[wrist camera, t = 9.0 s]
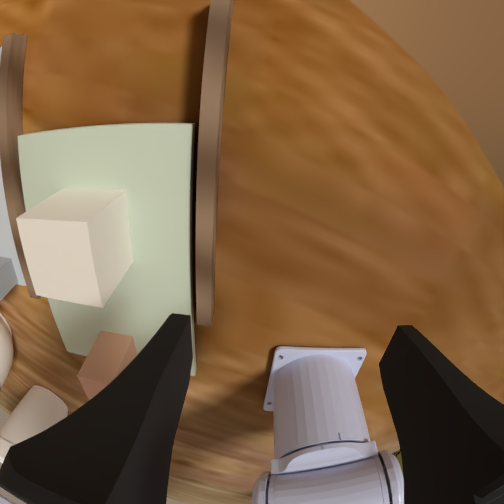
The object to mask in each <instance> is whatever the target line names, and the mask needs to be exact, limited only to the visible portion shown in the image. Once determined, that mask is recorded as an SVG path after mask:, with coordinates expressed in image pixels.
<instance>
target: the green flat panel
mask: <svg viewBox="0 0 504 504" xmlns="http://www.w3.org/2000/svg"><path fill="white" fill-rule="evenodd" d="M194 140H195V123H131V124H111V125H96V126H84V127H74V128H65V129H56V130H49V131H41V132H35V133H28V134H23V135H20V136H18V151H19V163H20V173H21V181H22V189H23V196H24V203H25V209H26V211H28V210H29V209H31V208H32V207H34V206H36V205H37V204H39V203H40V202H42V201H44V200H45V199H47V198H48V197H50V196H52V195H53V194H55V193H57V192H58V191H60V190H62V189H90V190H127V206H128V220H129V232H130V242H131V252H132V261H133V263H132V264H131V266H130V267H129V269H128V270H127V272H126V273H125V275H124V276H123V278H122V279H121V281H120V282H119V284H118V285H117V287H116V288H115V290H114V291H113V293H112V294H111V296H110V298H109V299H108V301H107V302H106V304H105V306H104V307H103V308H101V307H95V306H89V305H84V304H78V303H73V302H68V301H62V300H57V299H53V298H48V297H47V298H48V301H49V304H50V307H51V310H52V313H53V316H54V319H55V322H56V324H57V327H58V330H59V332H60V335H61V337H62V340H63V342H64V345H65V347H66V350H67V352H71V353H75V354H79V355H83V356H87V357H86V359H85V361H84V363H83V365H82V367H81V369H80V371H79V373H78V375H77V377H78V380H79V382H80V384H81V386H82V388H83V390H84V392H85V394H86V396H87V397H88V399H89V400H90V399H92V398H93V397H94V396H95V395H97V394H98V393H99V392H100V391H101V390H102V389H104V388H105V387H106V386H107V385H108V384H109V383H110V382H111V381H112V380H113V379H115V378H116V377H117V376H118V375H119V374H120V373H121V372H122V371H123V369H124V368H125V367H126V366H127V365H128V364H129V363H130V362H131V361H132V360H133V359H134V358H135V357H136V356H137V355H138V354H139V352H140V351H141V350H142V349H143V348H144V347H145V345H146V344H147V343H148V342H149V341H150V340H151V338H152V337H153V336H154V335H155V333H156V332H157V331H158V330H159V328H160V327H161V326H162V324H163V323H164V322H165V320H166V319H167V318H168V316H169V315H170V314H172V313H176V314H184V315H190V316H191V334H192V350H193V360H192V367H191V374H190V376H195V374H196V354H195V335H194V311H193V272H192V203H193V164H194Z"/></svg>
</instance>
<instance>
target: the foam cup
mask: <svg viewBox="0 0 504 504" xmlns="http://www.w3.org/2000/svg"><path fill="white" fill-rule="evenodd" d="M67 412H68V408H67V405H66V404H65V403H64V402H63V401H62V400H61V399H60V398H59V397H58V396H57V395H55V394H54V393H53V392H51V391H49V390H48V389H46V388H44V387H41V386H38V385H33V386H32V388H30V390H29V391H28V392H27V393H26V395H25V396H24V397H23V399H22V400H21V401H20V402H19V404H18V405H17V406H16V408H15V409H14V410H13V412H12V413H11V414H10V416H9V417H8V419H7V420H6V421H5V423H4V424H3V425H2V427H1V428H0V462H1V463H2V464H3V461H4V459H5V456H6V454H7V452H8V450H9V448H10V447H11V446H13V445H15V444H18V443H20V442H22V441H24V440H26V439H28V438H30V437H32V436H34V435H37V434H39V433H41V432H42V431H44V430H46V429H48V428H49V427H51V426H53V425H54V424H56V423H57V422H59V421H61V420H62V419H64V418H66V417H67Z"/></svg>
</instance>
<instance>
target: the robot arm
mask: <svg viewBox="0 0 504 504" xmlns="http://www.w3.org/2000/svg"><path fill="white" fill-rule="evenodd" d="M366 354H367V352H366V349H365V348H314V347H287V346H279V347H277V348H276V349H275V352H274V357H273V362H272V367H271V372H270V377H269V381H268V386H267V391H266V395H265V400H264V405H263V409H264V410H265V411H273V420H274V456H275V459H273V460H271V471H268V472H263V473H262V474H261V475H260V477H259V478H258V479H257V480H256V482H255V484H254V487H253V492H252V504H504V405H503V404H502V403H500V402H499V401H497V400H496V399H494V398H493V397H492V396H490V395H489V394H488V393H486V392H485V391H484V390H482V389H481V388H480V387H478V386H477V385H476V384H475V383H474V382H472V381H471V380H470V379H469V378H468V377H467V376H466V375H464V374H463V373H462V372H461V371H460V370H459V369H458V368H457V367H456V366H455V365H454V364H452V363H451V362H450V361H449V360H448V359H447V358H446V357H445V356H444V355H443V354H442V353H441V352H440V351H439V350H438V349H437V348H436V347H435V346H434V345H433V344H432V343H431V342H430V341H429V340H428V339H427V338H425V337H424V336H423V335H422V334H421V333H420V332H419V331H418V330H417V329H415V328H414V327H413V326H412V325H402V326H397V329H396V331H395V333H394V335H393V337H392V339H391V341H390V343H389V345H388V347H387V349H386V351H385V353H384V355H383V357H382V359H381V361H380V363H379V367H380V373H381V379H382V384H383V389H384V392H385V396H386V399H387V402H388V405H389V409H390V412H391V415H392V418H393V422H394V425H395V429H396V432H397V436H398V440H399V444H400V450H401V458H402V466H403V474H402V470H401V467H400V464H399V462H398V460H397V458H396V457H395V456H394V455H393V454H391V453H389V452H388V451H387V450H382V451H377V446H376V442H375V441H370V437H369V433H368V429H367V425H366V421H365V417H364V413H363V409H362V405H361V401H360V397H359V393H358V389H357V386H356V382H355V377H356V375H357V373H358V371H359V369H360V367H361V365H362V363H363V361H364V359H365V356H366ZM280 355H281V356H280ZM192 360H193V350H192V334H191V316H190V315H184V314H176V313H172V314H170V315H169V316H168V318H167V319H166V320H165V322H164V323H163V324H162V326H161V327H160V328H159V330H158V331H157V332H156V333H155V335H154V336H153V337H152V338H151V340H150V341H149V342H148V343H147V344H146V345H145V347H144V348H143V349H142V350H141V351H140V352H139V354H138V355H137V356H136V357H135V358H134V359H133V360H132V361H131V362H130V363H129V364H128V365H127V366H126V367H125V368H124V369H123V371H122V372H121V373H120V374H119V375H118V376H117V377H116V378H115V379H113V380H112V381H111V382H110V383H109V384H108V385H107V386H106V387H105V388H104V389H102V390H101V391H100V392H99V393H98V394H97V395H95V396H94V397H93V398H92V399H90V400H89V401H88V402H86V403H85V404H84V405H83V406H81V407H80V408H79V409H77V410H76V411H74V412H73V413H72V414H70V415H69V416H67V417H66V418H64V419H62V420H61V421H59V422H57V423H56V424H54V425H53V426H51V427H49V428H48V429H46V430H44V431H42V432H41V433H39V434H37V435H34V436H32V437H30V438H28V439H26V440H24V441H22V442H20V443H18V444H15V445H13V446H11V447H10V448H9V450H8V452H7V454H6V456H5V459H4V461H3V464H2V466H1V469H0V487H2V488H3V489H4V490H6V491H7V492H9V493H11V494H12V495H14V496H15V497H17V498H19V499H20V500H22V501H24V502H26V503H27V504H166V497H167V487H168V478H169V469H170V462H171V454H172V447H173V443H174V438H175V434H176V430H177V426H178V422H179V419H180V415H181V411H182V408H183V404H184V400H185V396H186V393H187V389H188V385H189V380H190V374H191V367H192ZM0 504H15V503H13V502H12V501H10V500H9V499H7V498H5V497H4V496H2V495H1V494H0Z"/></svg>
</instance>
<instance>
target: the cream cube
mask: <svg viewBox="0 0 504 504" xmlns="http://www.w3.org/2000/svg"><path fill="white" fill-rule="evenodd" d="M16 220H17V225H18V230H19V235H20V239H21V243H22V247H23V252H24V255H25V259H26V263H27V267H28V270H29V274H30V277H31V280H32V283H33V287H34V290H35V293H36V295H38V296H43V297H48V298H53V299H57V300H62V301H68V302H73V303H78V304H84V305H89V306H95V307H101V308H103V307H104V306H105V304H106V302H107V301H108V299H109V298H110V296H111V294H112V293H113V291H114V290H115V288H116V287H117V285H118V284H119V282H120V281H121V279H122V278H123V276H124V275H125V273H126V272H127V270H128V269H129V267H130V266H131V264H132V263H133V261H132V252H131V242H130V232H129V220H128V206H127V190H90V189H62V190H60V191H58V192H57V193H55V194H53V195H52V196H50V197H48V198H47V199H45V200H44V201H42V202H40V203H39V204H37V205H36V206H34V207H32V208H31V209H29V210H28V211H26V212H25V213H23V214H22V215H20V216H19V217H17V218H16Z"/></svg>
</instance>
